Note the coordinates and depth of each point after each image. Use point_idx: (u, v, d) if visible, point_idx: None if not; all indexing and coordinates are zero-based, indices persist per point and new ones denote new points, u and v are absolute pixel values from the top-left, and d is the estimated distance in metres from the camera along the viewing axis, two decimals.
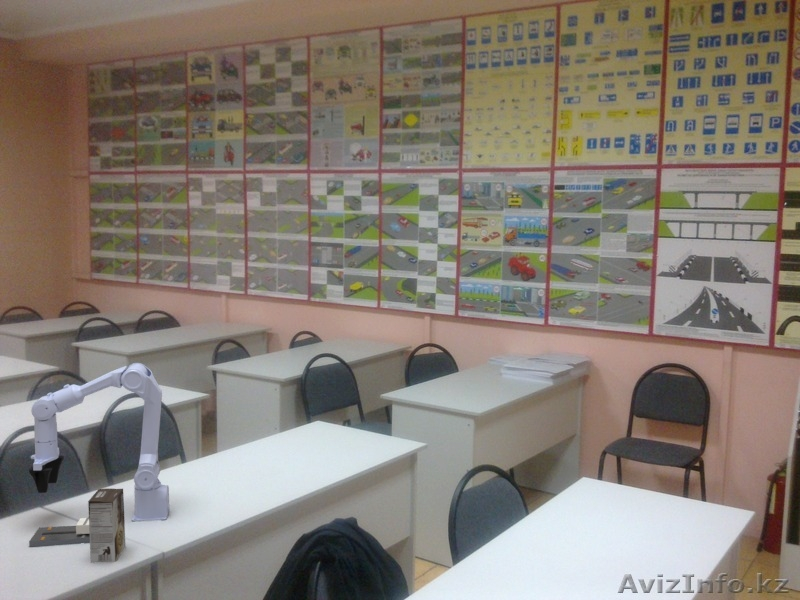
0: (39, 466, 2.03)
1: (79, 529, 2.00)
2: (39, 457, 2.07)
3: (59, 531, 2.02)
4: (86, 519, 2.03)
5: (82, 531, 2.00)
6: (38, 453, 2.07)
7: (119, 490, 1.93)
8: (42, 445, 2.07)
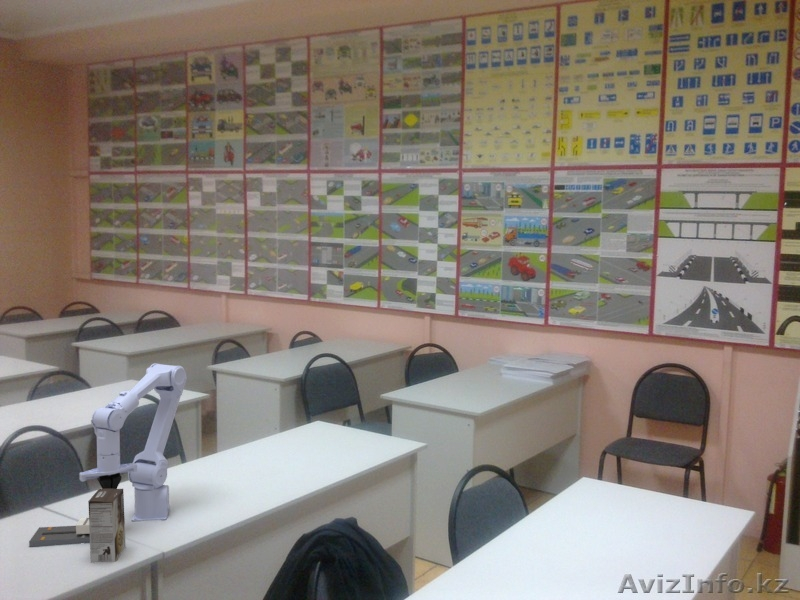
0: (81, 477, 1.97)
1: (79, 529, 2.00)
2: (97, 468, 2.01)
3: (59, 531, 2.02)
4: (86, 519, 2.03)
5: (82, 531, 2.00)
6: (97, 464, 2.01)
7: (119, 490, 1.93)
8: (97, 456, 2.00)
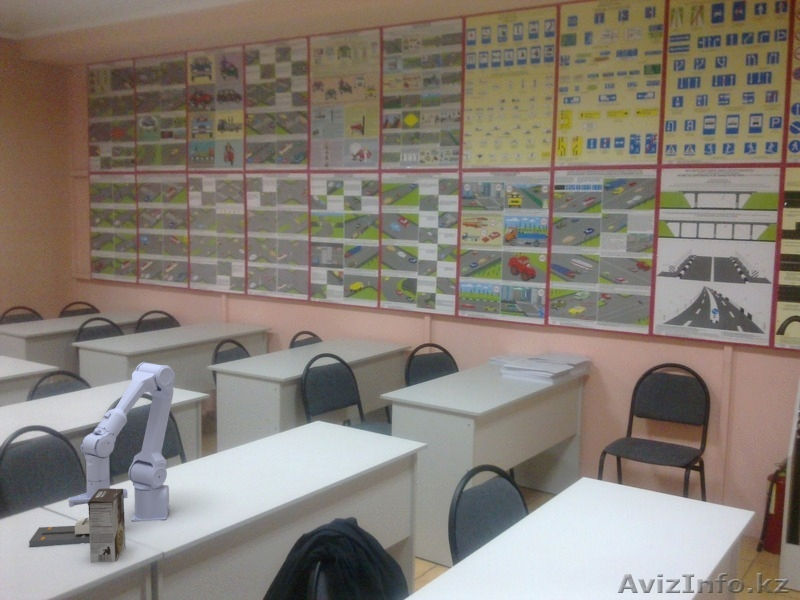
0: (69, 502, 1.98)
1: (78, 529, 1.99)
2: None
3: (59, 531, 2.02)
4: (85, 519, 2.03)
5: (81, 531, 2.00)
6: None
7: (119, 490, 1.93)
8: None
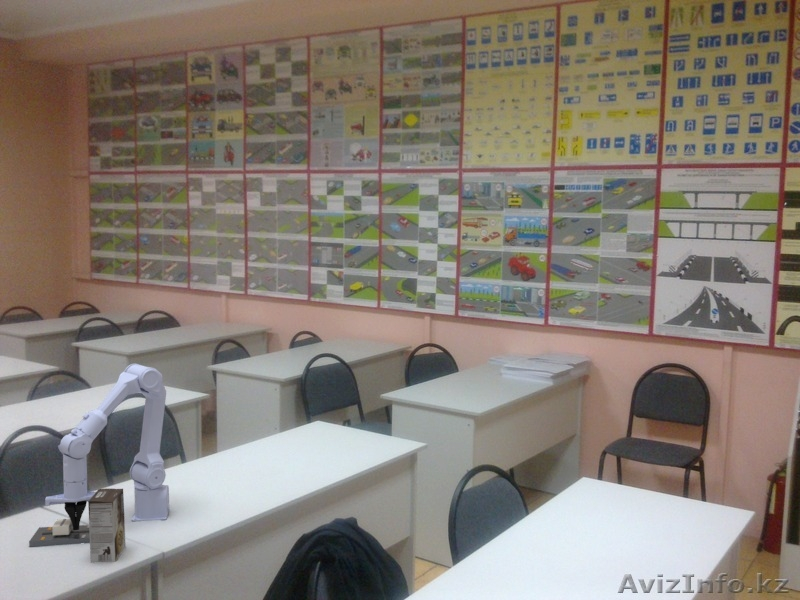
0: (45, 501, 1.98)
1: (56, 530, 1.98)
2: None
3: None
4: (63, 520, 2.02)
5: (58, 532, 1.99)
6: None
7: (119, 490, 1.93)
8: None
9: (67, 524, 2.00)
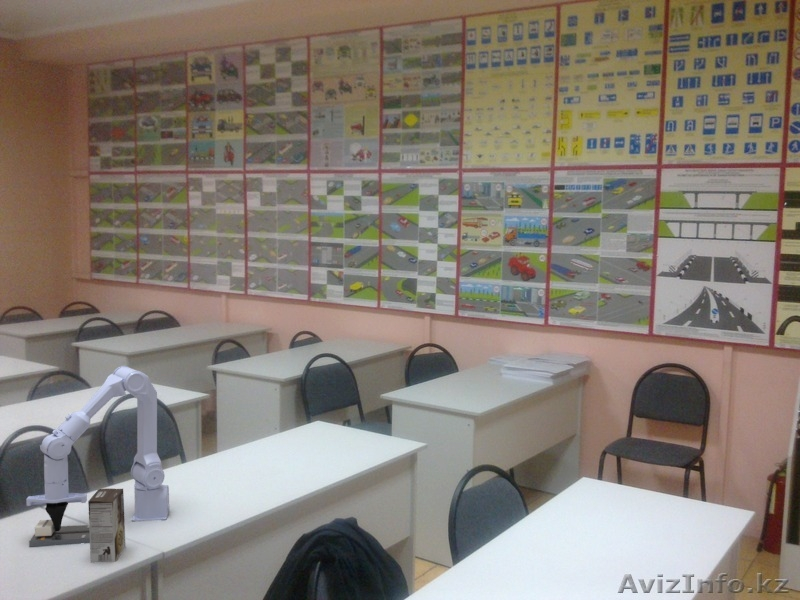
0: None
1: (38, 531, 1.98)
2: None
3: (59, 531, 2.02)
4: (46, 521, 2.01)
5: (41, 533, 1.98)
6: None
7: (119, 490, 1.93)
8: None
9: (50, 525, 1.99)
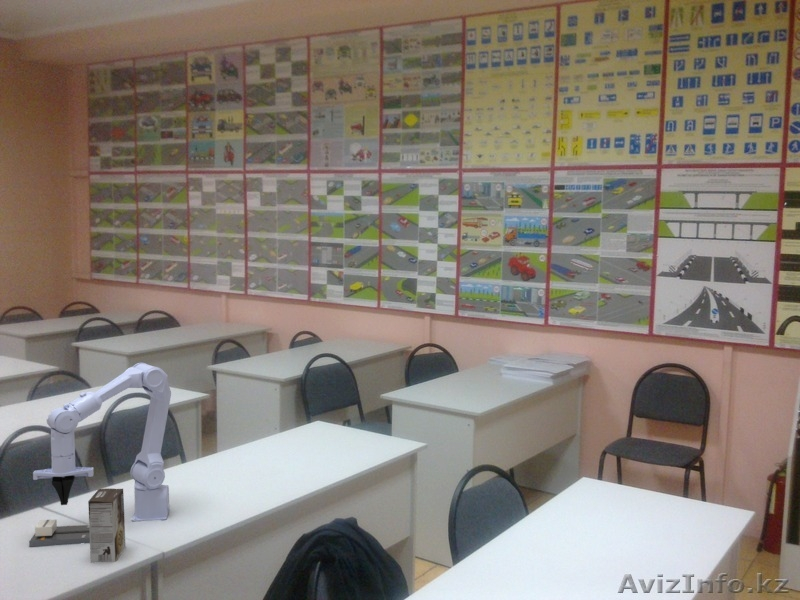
0: None
1: (39, 531, 1.98)
2: None
3: (59, 531, 2.02)
4: (46, 521, 2.01)
5: (41, 533, 1.98)
6: None
7: (119, 490, 1.93)
8: None
9: (50, 525, 1.99)
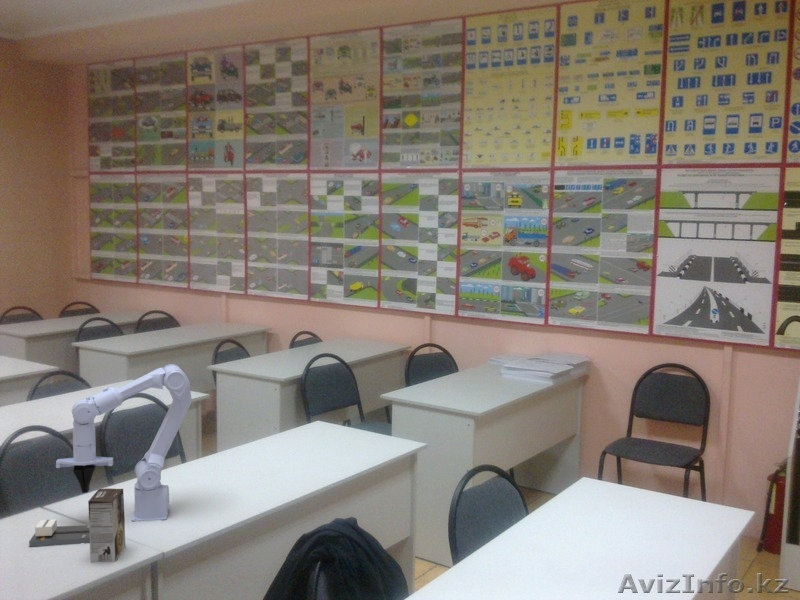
0: None
1: (39, 531, 1.98)
2: None
3: (59, 531, 2.02)
4: (46, 521, 2.01)
5: (41, 533, 1.98)
6: None
7: (119, 490, 1.93)
8: None
9: (50, 525, 1.99)
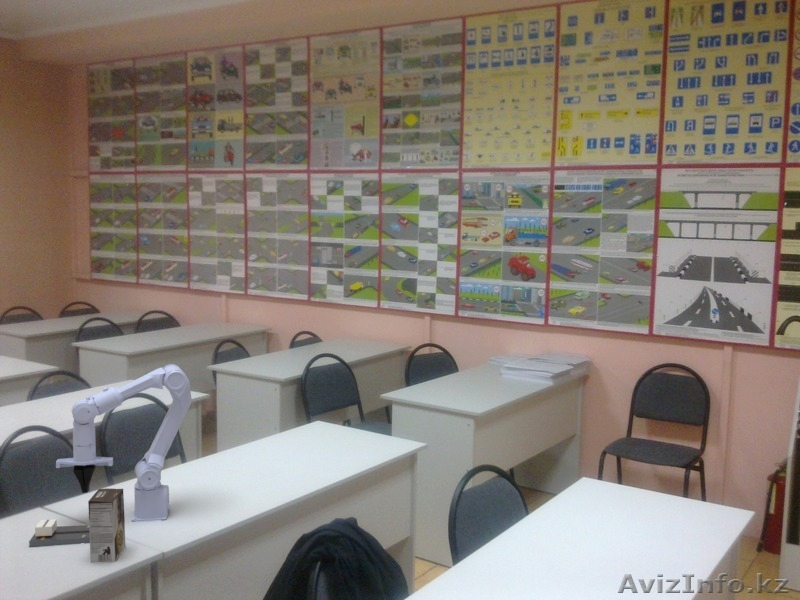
0: None
1: (39, 531, 1.98)
2: None
3: (59, 531, 2.02)
4: (46, 521, 2.01)
5: (41, 533, 1.98)
6: None
7: (119, 490, 1.93)
8: None
9: (50, 525, 1.99)
